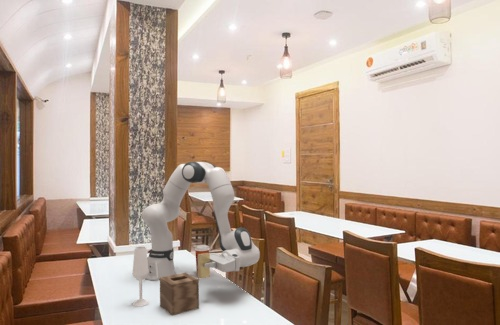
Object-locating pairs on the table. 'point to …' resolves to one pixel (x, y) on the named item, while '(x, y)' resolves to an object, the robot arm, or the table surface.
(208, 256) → the olive yellow block
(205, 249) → the coffee cup
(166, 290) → the walnut tip box
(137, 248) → the champagne flute
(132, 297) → the table surface
